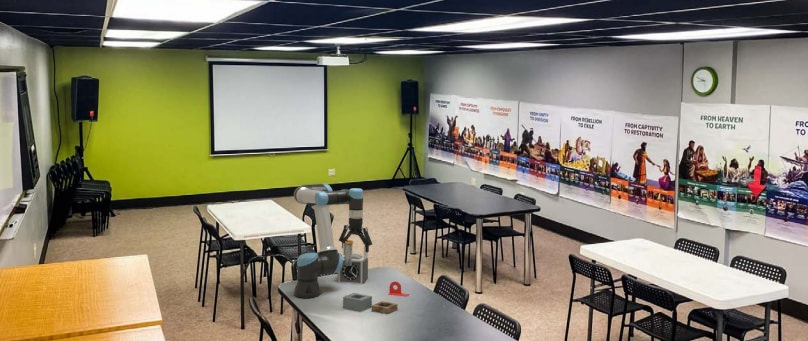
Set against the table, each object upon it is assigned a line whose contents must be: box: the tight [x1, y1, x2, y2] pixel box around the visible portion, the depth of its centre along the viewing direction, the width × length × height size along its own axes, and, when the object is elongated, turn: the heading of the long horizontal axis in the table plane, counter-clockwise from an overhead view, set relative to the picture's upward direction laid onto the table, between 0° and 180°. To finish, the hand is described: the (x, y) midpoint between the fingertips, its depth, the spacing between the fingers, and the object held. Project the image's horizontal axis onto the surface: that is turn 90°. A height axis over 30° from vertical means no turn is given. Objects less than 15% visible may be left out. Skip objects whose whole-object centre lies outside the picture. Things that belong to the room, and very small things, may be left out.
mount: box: [371, 300, 399, 315], centre depth 339 cm, size 10×10×3 cm
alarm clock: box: [337, 253, 369, 285], centre depth 391 cm, size 18×13×18 cm
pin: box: [344, 239, 354, 266], centre depth 344 cm, size 5×5×13 cm
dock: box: [342, 292, 373, 312], centre depth 343 cm, size 12×10×6 cm
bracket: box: [387, 280, 410, 297], centre depth 367 cm, size 12×4×8 cm, turn 76°
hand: (355, 256), depth 342 cm, fingers open, 13 cm apart
